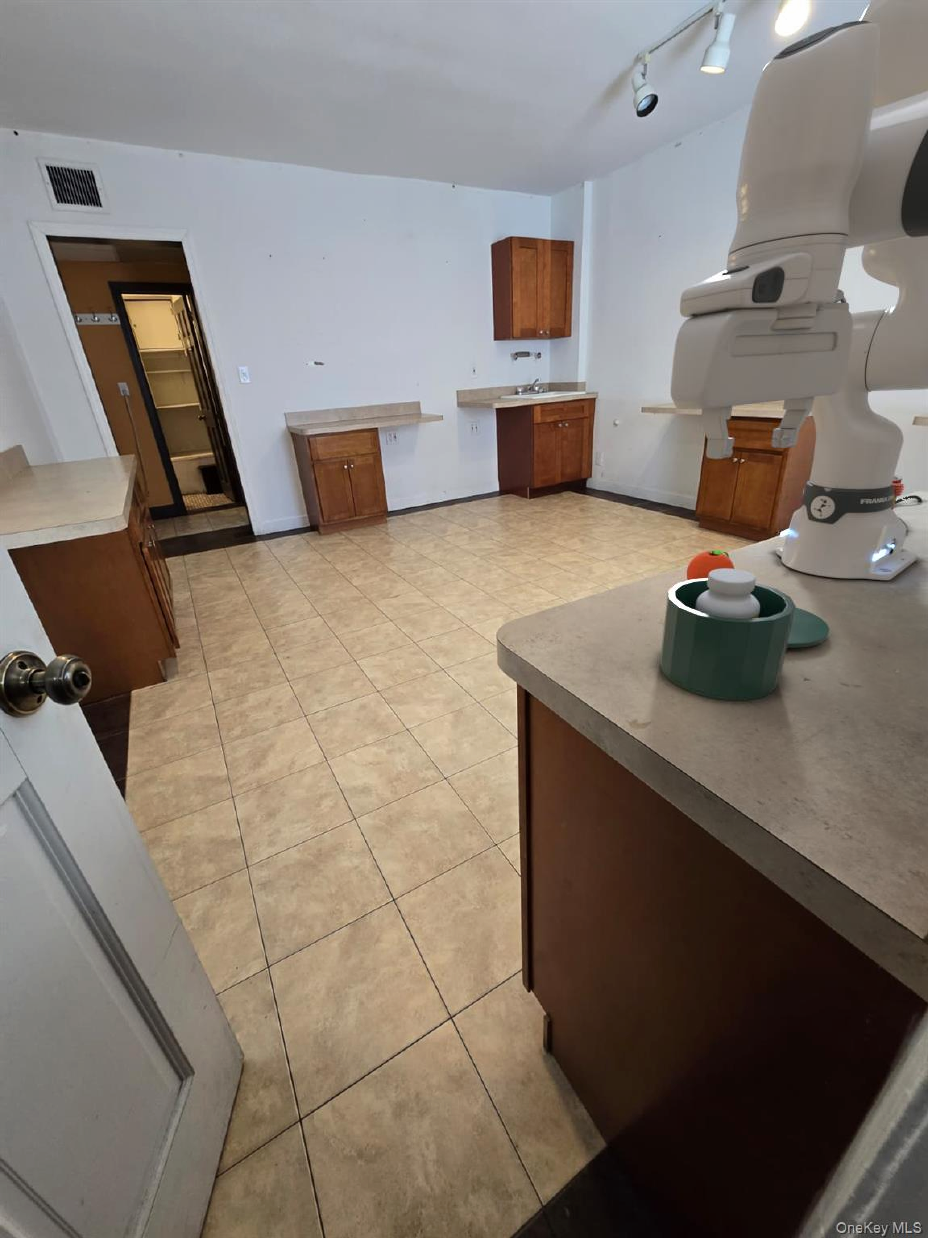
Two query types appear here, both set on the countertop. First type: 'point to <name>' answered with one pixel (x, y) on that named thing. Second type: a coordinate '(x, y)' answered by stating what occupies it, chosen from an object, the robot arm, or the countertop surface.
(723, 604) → the pill bottle
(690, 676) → the tin
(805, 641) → the lid
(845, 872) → the countertop surface
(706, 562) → the clementine
